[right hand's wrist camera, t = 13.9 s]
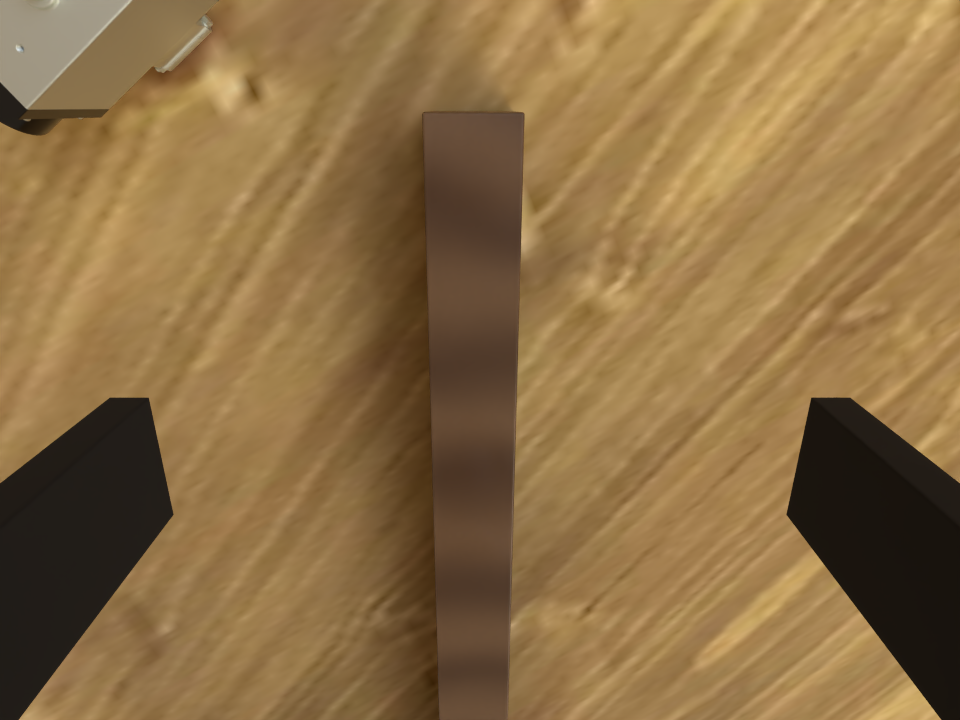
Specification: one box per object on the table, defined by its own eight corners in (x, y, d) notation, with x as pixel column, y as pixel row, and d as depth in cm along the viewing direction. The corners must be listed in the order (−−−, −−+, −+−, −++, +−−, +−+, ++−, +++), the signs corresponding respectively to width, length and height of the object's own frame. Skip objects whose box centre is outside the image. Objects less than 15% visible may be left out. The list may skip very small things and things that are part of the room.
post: (431, 111, 35) (422, 112, 29) (514, 111, 35) (524, 112, 29) (446, 774, 55) (443, 869, 48) (499, 774, 55) (503, 869, 48)
